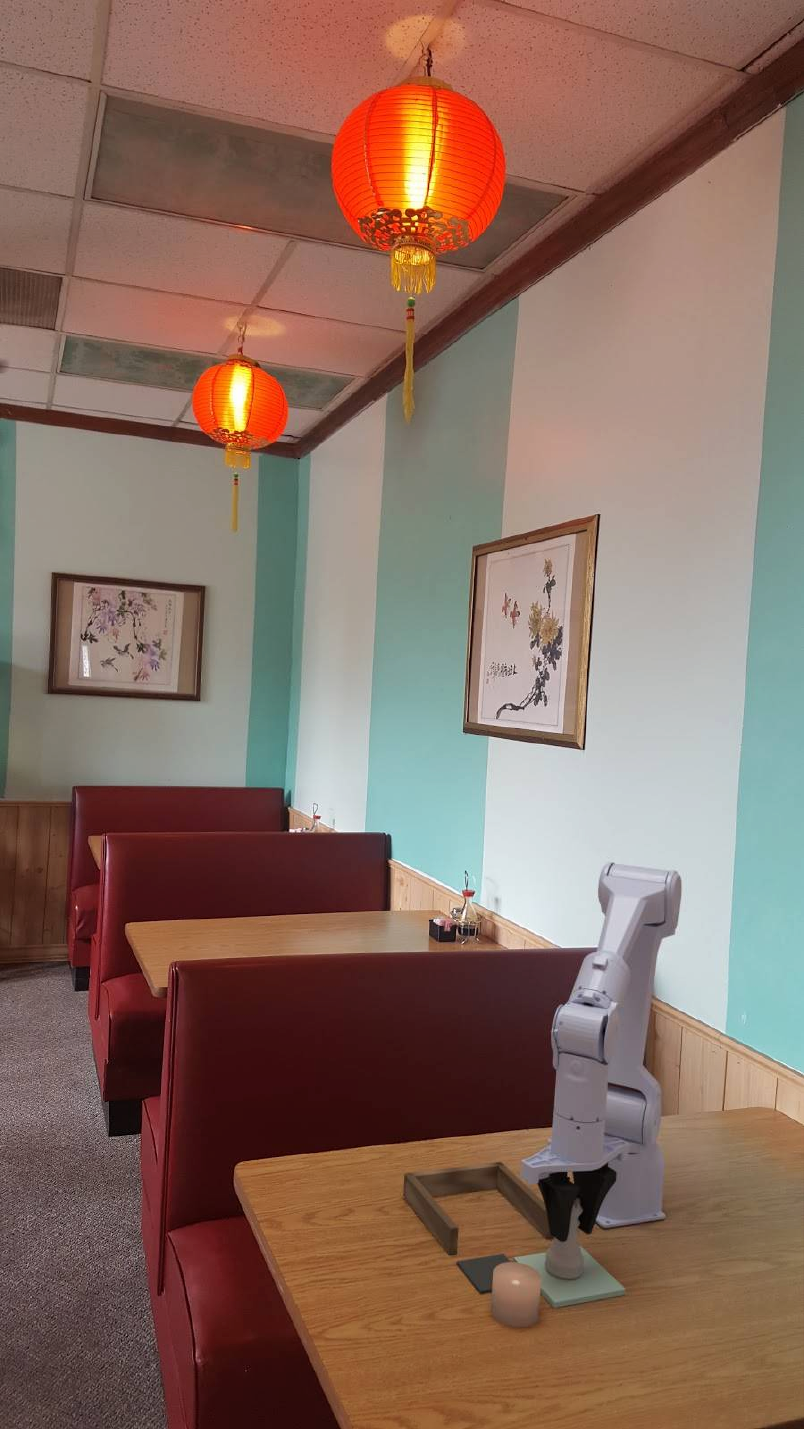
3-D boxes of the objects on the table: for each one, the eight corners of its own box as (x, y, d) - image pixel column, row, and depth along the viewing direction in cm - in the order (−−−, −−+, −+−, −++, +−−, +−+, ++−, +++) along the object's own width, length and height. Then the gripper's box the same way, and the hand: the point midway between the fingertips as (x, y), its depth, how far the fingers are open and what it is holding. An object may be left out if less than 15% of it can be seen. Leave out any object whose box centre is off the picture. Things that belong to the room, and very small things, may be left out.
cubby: (499, 1184, 134) (501, 1161, 134) (554, 1237, 121) (555, 1213, 121) (402, 1196, 128) (404, 1173, 128) (449, 1254, 115) (450, 1228, 115)
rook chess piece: (587, 1282, 110) (592, 1210, 110) (546, 1279, 110) (551, 1207, 110) (580, 1260, 115) (585, 1191, 115) (541, 1257, 115) (546, 1188, 115)
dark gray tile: (503, 1256, 116) (503, 1253, 116) (529, 1285, 110) (529, 1282, 110) (456, 1263, 114) (456, 1261, 114) (480, 1293, 108) (480, 1291, 108)
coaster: (580, 1251, 118) (580, 1246, 118) (625, 1294, 110) (625, 1289, 110) (513, 1262, 115) (513, 1257, 115) (554, 1308, 106) (554, 1302, 106)
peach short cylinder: (523, 1295, 108) (526, 1259, 108) (547, 1323, 104) (550, 1284, 104) (482, 1303, 106) (485, 1265, 106) (504, 1331, 102) (507, 1292, 102)
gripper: (601, 1090, 119) (593, 1203, 119) (506, 1109, 112) (497, 1230, 112) (645, 1112, 113) (637, 1231, 114) (548, 1134, 106) (539, 1262, 106)
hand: (570, 1233), depth 112 cm, fingers closed on rook chess piece, 3 cm apart
